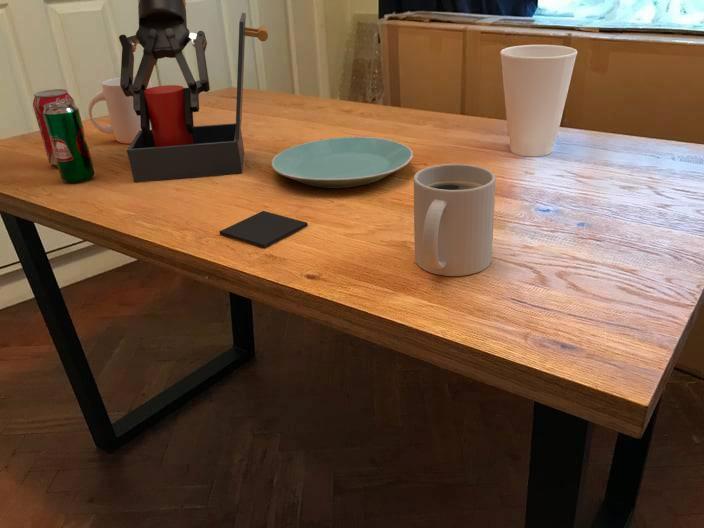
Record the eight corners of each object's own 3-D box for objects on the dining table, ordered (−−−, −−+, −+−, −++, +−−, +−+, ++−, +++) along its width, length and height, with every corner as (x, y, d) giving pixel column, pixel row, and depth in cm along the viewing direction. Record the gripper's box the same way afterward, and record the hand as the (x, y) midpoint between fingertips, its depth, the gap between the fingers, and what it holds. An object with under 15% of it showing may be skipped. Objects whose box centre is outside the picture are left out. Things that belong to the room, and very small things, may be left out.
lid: (239, 21, 95) (268, 25, 96) (242, 12, 105) (268, 16, 106) (235, 139, 103) (262, 141, 104) (238, 120, 113) (262, 123, 114)
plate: (244, 176, 105) (242, 158, 103) (347, 143, 118) (346, 128, 117) (337, 210, 91) (336, 190, 89) (442, 169, 104) (442, 151, 103)
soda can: (55, 181, 106) (33, 105, 100) (83, 171, 109) (64, 98, 103) (74, 186, 103) (53, 109, 97) (102, 176, 107) (83, 101, 101)
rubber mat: (219, 234, 85) (219, 231, 84) (263, 214, 90) (263, 210, 90) (264, 248, 80) (264, 244, 80) (307, 225, 86) (307, 222, 86)
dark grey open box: (134, 182, 104) (126, 150, 101) (145, 160, 114) (139, 130, 111) (242, 173, 106) (237, 141, 103) (244, 152, 116) (240, 122, 113)
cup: (532, 136, 118) (539, 42, 110) (583, 151, 109) (594, 50, 101) (481, 148, 113) (484, 50, 105) (529, 166, 104) (537, 60, 96)
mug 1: (96, 137, 128) (82, 80, 122) (160, 129, 131) (149, 74, 126) (96, 149, 121) (80, 89, 115) (163, 140, 124) (152, 82, 119)
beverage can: (49, 161, 115) (29, 91, 109) (87, 155, 117) (69, 86, 112) (51, 171, 110) (30, 98, 104) (91, 164, 112) (72, 93, 107)
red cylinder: (163, 165, 105) (148, 95, 100) (154, 156, 109) (140, 88, 104) (200, 158, 107) (188, 89, 102) (189, 149, 112) (177, 83, 107)
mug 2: (463, 236, 81) (465, 158, 77) (511, 266, 74) (516, 181, 69) (385, 257, 77) (382, 176, 72) (428, 291, 70) (428, 202, 65)
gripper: (223, 18, 114) (232, 138, 108) (109, 24, 112) (111, 146, 105) (217, -13, 107) (226, 113, 100) (95, -8, 104) (96, 121, 98)
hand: (167, 130), depth 103 cm, fingers closed on red cylinder, 6 cm apart
